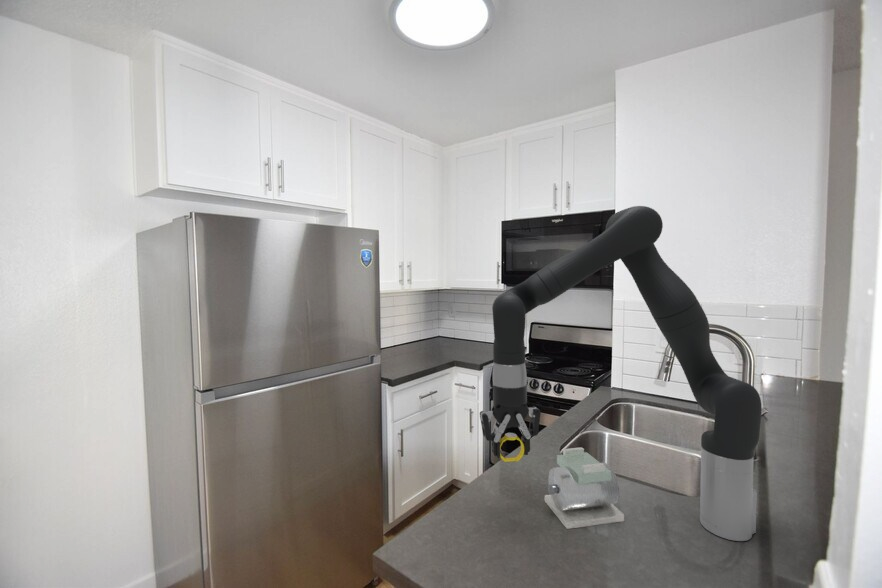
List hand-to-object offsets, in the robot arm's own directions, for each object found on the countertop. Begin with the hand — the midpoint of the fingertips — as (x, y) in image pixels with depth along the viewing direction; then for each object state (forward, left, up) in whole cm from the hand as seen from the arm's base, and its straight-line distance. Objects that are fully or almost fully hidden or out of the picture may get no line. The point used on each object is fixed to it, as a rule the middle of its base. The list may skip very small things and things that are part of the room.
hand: (510, 455), depth 89 cm
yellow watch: (0, 0, -1) cm, 1 cm away
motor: (-18, 0, -15) cm, 23 cm away
